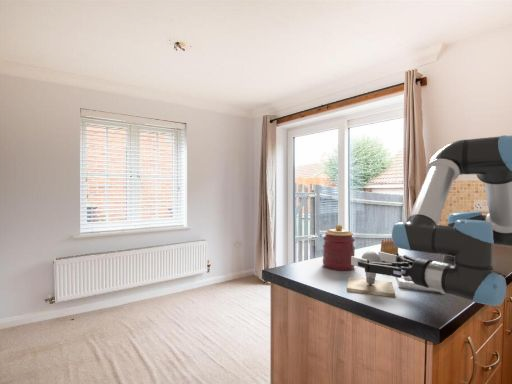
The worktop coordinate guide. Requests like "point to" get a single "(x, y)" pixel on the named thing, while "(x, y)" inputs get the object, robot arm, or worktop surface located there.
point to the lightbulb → (373, 258)
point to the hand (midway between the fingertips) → (365, 257)
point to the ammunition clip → (388, 248)
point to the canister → (338, 249)
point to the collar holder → (411, 284)
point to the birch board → (371, 287)
